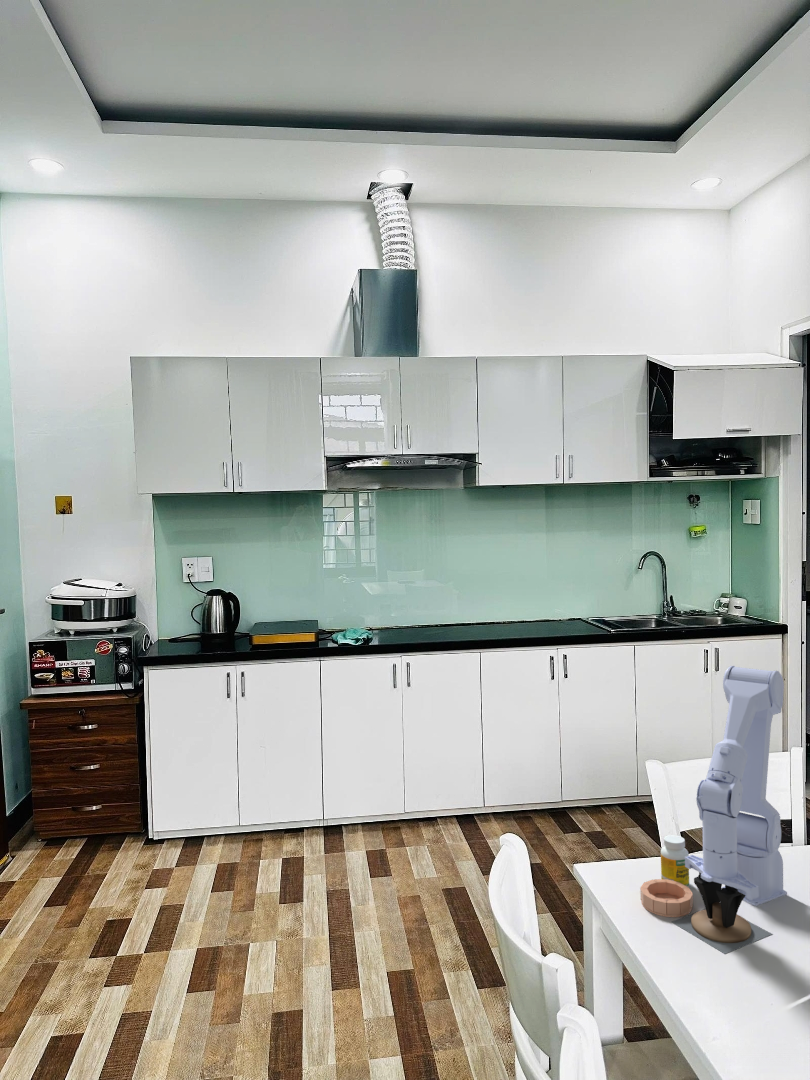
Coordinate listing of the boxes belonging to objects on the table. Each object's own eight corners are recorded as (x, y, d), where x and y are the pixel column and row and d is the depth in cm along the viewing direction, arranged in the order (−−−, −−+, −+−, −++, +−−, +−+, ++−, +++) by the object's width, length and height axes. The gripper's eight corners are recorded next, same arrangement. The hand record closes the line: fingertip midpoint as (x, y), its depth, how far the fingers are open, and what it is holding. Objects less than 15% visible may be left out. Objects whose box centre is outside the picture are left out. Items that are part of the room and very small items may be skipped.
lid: (717, 908, 149) (717, 887, 149) (763, 932, 140) (763, 910, 140) (679, 922, 144) (679, 901, 144) (724, 949, 136) (724, 926, 135)
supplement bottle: (672, 876, 163) (672, 830, 162) (695, 886, 158) (694, 839, 158) (655, 884, 160) (654, 837, 159) (677, 894, 155) (676, 846, 155)
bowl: (666, 890, 157) (665, 875, 157) (702, 910, 149) (702, 894, 149) (631, 902, 153) (630, 886, 153) (667, 923, 145) (666, 907, 145)
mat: (717, 906, 150) (717, 904, 150) (772, 936, 140) (772, 934, 140) (671, 923, 145) (671, 921, 145) (724, 956, 134) (724, 953, 134)
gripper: (672, 837, 146) (673, 909, 147) (738, 868, 133) (739, 946, 134) (699, 829, 150) (700, 899, 150) (766, 858, 137) (767, 935, 137)
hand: (720, 921), depth 142 cm, fingers closed on lid, 3 cm apart
